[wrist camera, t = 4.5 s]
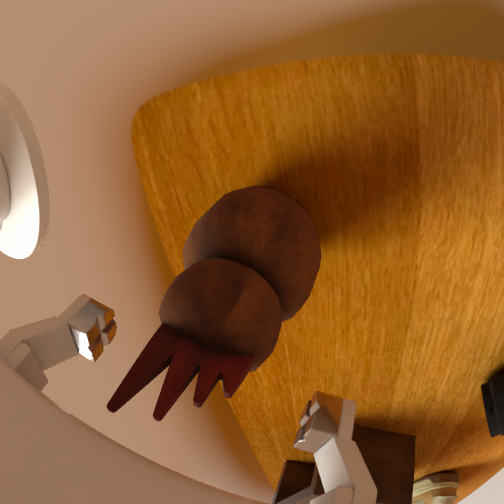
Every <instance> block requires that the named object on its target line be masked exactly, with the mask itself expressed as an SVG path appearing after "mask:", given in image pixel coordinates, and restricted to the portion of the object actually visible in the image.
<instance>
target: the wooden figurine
mask: <svg viewBox="0 0 504 504" xmlns="http://www.w3.org/2000/svg"><path fill="white" fill-rule="evenodd" d="M183 259H184V268H185V270H184V271H183V272H182V273H180V274H179V275H178V276H177V277H176V278H175V279H174V280H173V282H172V284H171V285H170V287H169V288H168V290H167V292H166V294H165V296H164V298H163V299H162V302H161V306H160V310H159V316H160V320H161V324H162V325H161V326H160V327H159V328H158V330H157V331H156V333H155V334H154V335H153V337H152V338H151V339H150V341H149V342H148V344H147V345H146V346H145V348H144V349H143V351H142V352H141V354H140V355H139V357H138V358H137V360H136V361H135V363H134V364H133V366H132V367H131V369H130V370H129V372H128V373H127V375H126V376H125V378H124V379H123V381H122V383H121V384H120V385H119V387H118V389H117V390H116V392H115V393H114V395H113V396H112V398H111V400H110V401H109V402H108V404H107V408H108V410H109V411H110V412H112V413H114V412H116V411H117V410H118V409H120V408H121V407H122V406H123V405H124V404H125V403H126V402H127V401H129V400H130V399H131V398H132V397H134V396H135V395H136V394H137V393H138V392H139V391H140V390H142V389H143V388H144V387H145V386H146V385H147V384H149V383H150V382H151V381H152V380H153V379H154V378H155V377H157V376H158V375H159V374H160V373H161V372H162V371H163V370H164V369H166V368H167V367H168V366H169V365H170V366H169V369H168V372H167V375H166V377H165V380H164V384H163V386H162V389H161V392H160V395H159V398H158V401H157V404H156V407H155V410H154V413H153V417H154V419H155V420H157V421H161V420H162V419H163V418H164V416H165V415H166V414H167V412H168V411H169V410H170V408H171V407H172V406H173V405H174V403H175V402H176V401H177V399H178V398H179V397H180V395H181V394H182V393H183V391H184V390H185V389H186V387H187V386H188V385H189V383H190V382H191V381H192V379H193V378H194V377H195V376H196V374H197V373H199V375H198V379H197V384H196V389H195V394H194V398H193V402H194V406H196V407H201V406H202V405H203V403H204V402H205V400H206V399H207V397H208V396H209V394H210V393H211V391H212V390H213V388H214V387H215V385H216V384H217V382H218V381H219V380H222V382H223V391H224V396H225V397H226V398H231V397H232V395H233V394H234V393H235V391H236V390H237V389H238V388H239V386H240V385H241V383H242V382H243V380H244V378H245V377H246V375H247V374H248V372H251V371H255V370H256V369H257V368H258V367H259V366H260V365H261V364H262V363H263V362H264V361H265V360H266V359H267V358H268V357H269V356H270V355H271V354H272V352H273V350H274V348H275V345H276V343H277V340H278V336H279V332H280V328H281V324H282V322H283V321H286V320H288V319H290V318H292V317H293V316H294V315H295V314H296V313H297V312H298V311H299V309H300V308H301V307H302V306H303V305H304V303H305V302H306V300H307V299H308V298H309V296H310V293H311V290H312V287H313V285H314V282H315V279H316V276H317V273H318V270H319V268H320V261H321V252H320V244H319V237H318V232H317V228H316V226H315V225H314V223H313V221H312V220H311V219H310V217H309V216H308V215H307V214H306V212H305V211H304V210H303V208H302V207H301V206H300V205H299V204H298V203H297V202H295V201H294V200H293V199H292V198H291V197H289V196H287V195H285V194H283V193H281V192H279V191H277V190H273V189H268V188H263V187H259V186H252V187H247V188H242V189H238V190H234V191H231V192H229V193H227V194H225V195H224V196H223V197H222V198H220V199H219V200H218V201H217V202H216V203H215V204H214V205H213V206H212V207H211V208H210V209H209V210H208V211H207V212H206V213H205V214H204V215H203V216H202V217H201V218H200V219H199V220H198V221H197V222H196V223H195V225H194V227H193V229H192V231H191V233H190V235H189V237H188V239H187V241H186V243H185V245H184V248H183Z"/></svg>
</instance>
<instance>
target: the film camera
mask: <svg viewBox="0 0 504 504" xmlns="http://www.w3.org/2000/svg"><path fill="white" fill-rule="evenodd" d="M481 391H482V396H483V403H484V409H485V413H486V418H487V423H488V427H489V432H490V435H491V437H494V436H497V435H499V434H500V435H501V436H503V435H504V372H502V373H500V374H498V375H496V376H494V377H492V378H490V380H489V382H487V383H485V384H483V385H481Z"/></svg>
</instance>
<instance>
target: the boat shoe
mask: <svg viewBox="0 0 504 504" xmlns="http://www.w3.org/2000/svg"><path fill="white" fill-rule="evenodd" d="M458 480H459V476H458V474H456V473H435V474H432V475H429V476H426V477H424V478H422V479H420V480H417V481H415V482H414V485H413V497H412V504H454V502H455V500H456V499H457V496H456V490H457V489H458Z"/></svg>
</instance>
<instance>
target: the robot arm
mask: <svg viewBox="0 0 504 504" xmlns="http://www.w3.org/2000/svg"><path fill="white" fill-rule="evenodd" d="M9 211H10V188H9V182H8V177H7V172H6V168H5V165H4V162H3V159H2V156H1V154H0V231H1V226H2V222H3V221H4V220H5V219H6V218H7V217H8V214H9ZM114 316H115V314H114V310H112V309H110V308H109V307H107V306H105V305H103V304H101V303H99V302H97V301H96V300H94V299H92V298H90V297H88V296H87V295H85V294H83V295H80V296H79V297H78V298H77V299H76V300H75V301H74V302H73V303H72V304H71V305H70V306H69V307H68V308H67V309H66V310H65V311H64V312H63V313H62V314H61V315H60V316H59V317H58V318H57V317H51V318H48V319H45V320H41V321H38V322H35V323H31V324H28V325H25V326H21V327H18V328H15V329H12V330H10V331H9V332H8V333H7V334H6V335H5V336H4V337H3V338H2V339H1V340H0V504H266V503H262V502H259V501H255V500H252V499H248V498H245V497H242V496H239V495H236V494H232V493H229V492H226V491H223V490H220V489H218V488H215V487H212V486H209V485H207V484H204V483H202V482H199V481H196V480H194V479H192V478H189V477H187V476H184V475H182V474H180V473H177V472H175V471H173V470H170V469H168V468H166V467H164V466H161V465H159V464H157V463H155V462H153V461H151V460H149V459H147V458H145V457H143V456H141V455H139V454H137V453H135V452H134V451H132V450H130V449H128V448H126V447H124V446H122V445H121V444H119V443H117V442H115V441H114V440H112V439H110V438H108V437H107V436H105V435H103V434H102V433H100V432H98V431H97V430H95V429H93V428H92V427H90V426H89V425H87V424H86V423H84V422H82V421H81V420H79V419H78V418H76V417H75V416H74V415H72V414H70V413H69V412H68V411H66V410H65V409H63V408H62V407H60V406H59V405H58V404H56V403H55V402H54V401H52V400H51V399H50V398H48V397H47V396H46V395H44V394H43V393H42V392H41V391H42V389H43V388H44V387H45V385H46V384H47V383H48V380H47V378H46V376H45V374H44V372H43V371H44V370H46V369H48V368H50V367H52V366H54V365H57V364H59V363H61V362H63V361H65V360H67V359H70V358H72V357H74V356H76V355H78V353H79V354H81V355H82V356H84V357H86V358H88V359H89V360H91V361H93V362H95V361H96V360H97V359H98V357H99V356H100V355H101V353H102V352H103V346H104V345H107V344H110V342H111V341H112V339H113V338H114V336H115V334H116V329H117V326H116V323H115V321H114V320H113V317H114ZM355 409H356V403H355V401H352V400H348V399H344V398H342V397H338V396H334V395H330V394H327V393H323V392H319V391H316V392H315V393H314V394H313V397H312V400H310V401H308V403H307V404H306V406H305V408H304V410H303V412H302V415H301V419H300V425H301V428H300V429H299V431H298V432H297V434H296V438H295V442H294V446H293V447H294V448H297V449H301V450H304V451H308V452H311V453H314V458H315V461H316V464H317V467H318V471H319V474H320V477H321V481H322V484H323V487H324V490H325V493H324V494H322V495H320V496H318V497H316V498H314V499H312V500H311V501H310V504H376V498H377V491H378V490H377V488H376V486H375V484H374V481H373V479H372V477H371V475H370V473H369V470H368V468H367V466H366V464H365V462H364V460H363V457H362V455H361V453H360V451H359V449H358V447H357V444H356V442H355V441H352V433H353V426H354V417H355Z"/></svg>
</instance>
